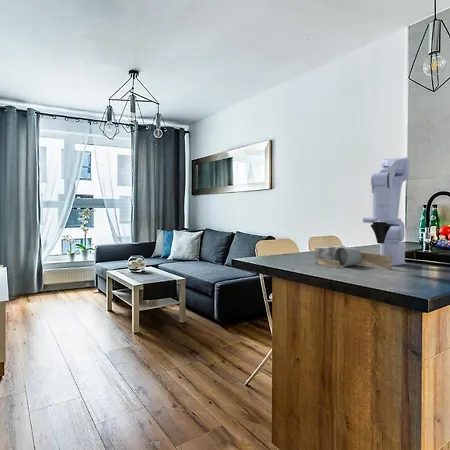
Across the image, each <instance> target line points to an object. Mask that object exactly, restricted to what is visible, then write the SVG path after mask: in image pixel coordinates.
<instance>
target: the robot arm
mask: <svg viewBox="0 0 450 450" xmlns="http://www.w3.org/2000/svg"><path fill="white" fill-rule="evenodd" d="M380 164H381V166H380V169H379V170H378V171H377V172H375V173H373V174H371V177H370V186H371V193H372V217H362V223H368V224H370V227H371V229H372V231H373V233H374V235H375V238H376V239H375V240H376V243H377V244H379V254H381V255H388V256H392V259H391V267H394V266H395V267H396V266H401V265H407V262H406V261H405V260H406V259H405V258H406V247H405V245H404V243H402V242H403V241H404V240H405V232H406V231H405V223H404V221H402V218H399V213H400V212H399V211H400V202H401V195H402V194H401V192H402V187H403V183H404V182H405V181H407V180H408V177H409V173H410V160H409V158H408V157H406V156H405V157H398V158H397V157H396V158H383V159H382V161H381V163H380Z"/></svg>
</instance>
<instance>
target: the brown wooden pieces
mask: <svg viewBox="0 0 450 450" xmlns="http://www.w3.org/2000/svg"><path fill="white" fill-rule="evenodd" d="M339 247H346V246H345V245H335V246H322V247H315V249H314V264H315V265H318V264H319V266H325V267H330V268H335V269H340V266H339V261H334V260H333V259H334V253H335V251H336V249H337V248H339ZM360 252H361V256H362V258H361V262H360V263H359V264H358V265H359V266H366V267H371V268H378V269H383V270H392V266H391V259H392V256H388V255H381V254H380V253H372V252H364V251H360Z"/></svg>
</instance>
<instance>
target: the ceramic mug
mask: <svg viewBox="0 0 450 450" xmlns="http://www.w3.org/2000/svg"><path fill="white" fill-rule="evenodd" d="M361 252H362V251H360V249H358V248H357V247H354V246H353V247H347V246H345V247H339V248H337V249H336V251H335V253H334V259H333V260H334V261H339V268H346V267H354V266H357V265H359V263H360V262H361V258H362V256H361Z"/></svg>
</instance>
